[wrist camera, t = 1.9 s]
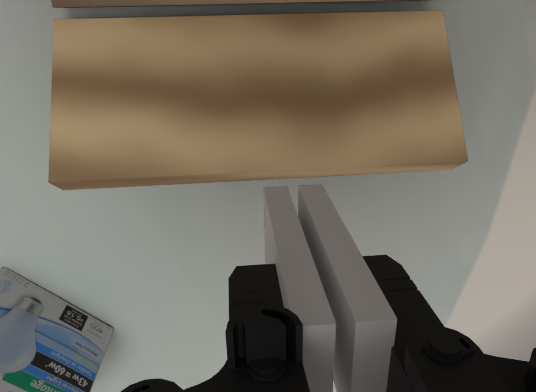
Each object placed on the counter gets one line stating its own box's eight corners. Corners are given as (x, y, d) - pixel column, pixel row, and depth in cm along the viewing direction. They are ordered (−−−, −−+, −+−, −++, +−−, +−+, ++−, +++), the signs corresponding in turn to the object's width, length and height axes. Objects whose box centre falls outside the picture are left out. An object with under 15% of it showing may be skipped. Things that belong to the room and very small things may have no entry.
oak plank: (67, 38, 27) (54, 19, 25) (429, 28, 29) (442, 10, 27) (63, 190, 25) (48, 182, 23) (451, 169, 27) (468, 160, 25)
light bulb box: (116, 327, 37) (77, 440, 27) (74, 374, 39) (23, 497, 29) (-1, 262, 34) (-94, 365, 24) (-41, 317, 36) (-144, 435, 26)
